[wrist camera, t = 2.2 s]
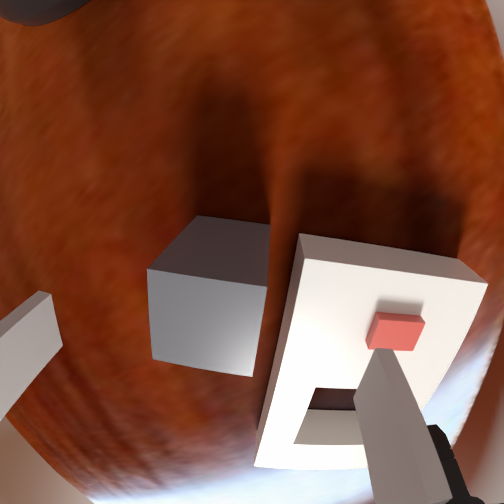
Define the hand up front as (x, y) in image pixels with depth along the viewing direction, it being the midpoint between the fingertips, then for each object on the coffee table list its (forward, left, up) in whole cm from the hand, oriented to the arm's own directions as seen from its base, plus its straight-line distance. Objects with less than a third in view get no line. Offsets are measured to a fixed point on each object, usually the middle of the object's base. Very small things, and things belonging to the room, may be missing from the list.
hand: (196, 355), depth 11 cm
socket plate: (+8, +10, -9) cm, 15 cm away
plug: (0, 0, -9) cm, 9 cm away
